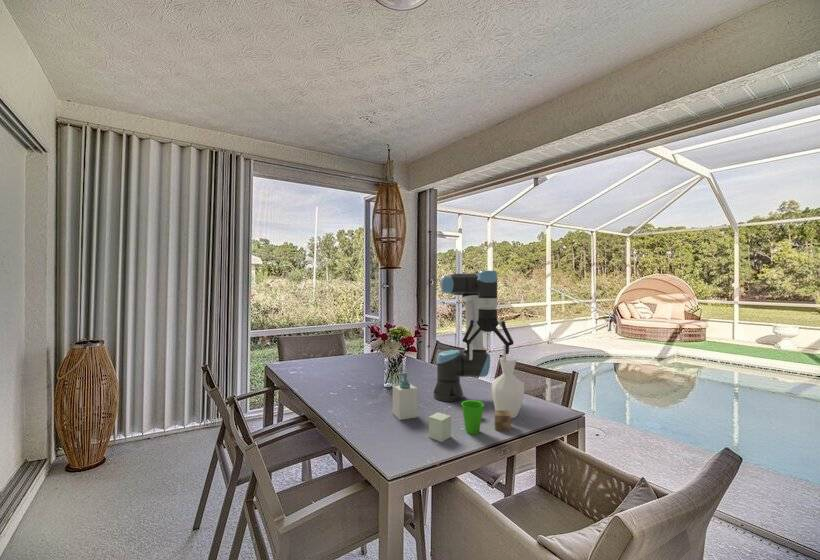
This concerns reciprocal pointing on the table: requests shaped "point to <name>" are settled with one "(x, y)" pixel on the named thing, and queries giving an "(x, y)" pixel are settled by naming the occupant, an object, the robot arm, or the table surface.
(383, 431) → the table surface
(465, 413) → the cup
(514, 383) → the vase
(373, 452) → the table surface
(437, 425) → the sage block
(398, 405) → the soap bottle
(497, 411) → the walnut block
